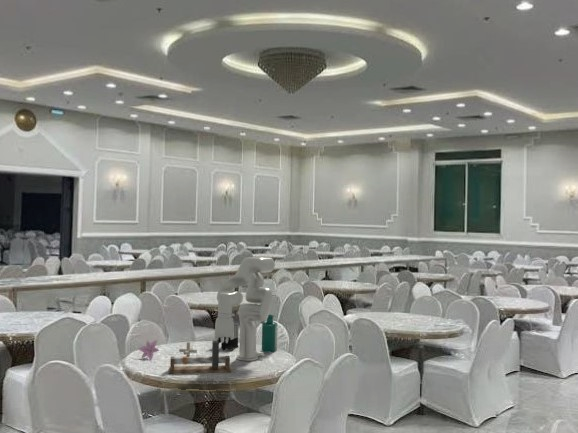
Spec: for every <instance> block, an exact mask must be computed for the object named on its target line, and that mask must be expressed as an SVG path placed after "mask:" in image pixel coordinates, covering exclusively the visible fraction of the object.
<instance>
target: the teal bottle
mask: <svg viewBox="0 0 578 433" xmlns="http://www.w3.org/2000/svg"><path fill="white" fill-rule="evenodd" d="M274 317H275V314H269V315H268V318H267V320H266V321H264V322H260V323H261V324H262V325H261V352H264V353H265V352H266V353H267V352H268V353H273V352H276V351H277V349H278V323H277V322H274Z"/></svg>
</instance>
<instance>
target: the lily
mask: <svg viewBox="0 0 578 433" xmlns="http://www.w3.org/2000/svg"><path fill="white" fill-rule="evenodd" d="M157 343H158V339H156V340H153V341H152V342H150V341H149V340H146V343H145V345H143V346H140V347H138V348H137V349H138V350H139V352H141V353H142V355H141V359H144V358H146V357H147V358H148V359H149V360H150V359H153V357H154V353H157V352H160V349H159V348H157V347H156V346H157Z"/></svg>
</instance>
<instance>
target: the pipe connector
mask: <svg viewBox="0 0 578 433" xmlns="http://www.w3.org/2000/svg"><path fill="white" fill-rule="evenodd" d="M190 344H191V342H190V341H186V348H179V353H183V355H185V356H187V357H191V356H190V355H191V354H192V353H193V354H197V352H198V350H197V349H193V347H191V345H190Z"/></svg>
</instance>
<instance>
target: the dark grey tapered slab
mask: <svg viewBox="0 0 578 433" xmlns="http://www.w3.org/2000/svg"><path fill="white" fill-rule="evenodd" d="M211 346H212V347H211V348H212V349H211V351H212V352H211V356H213V363H211V366H212V368H213V369H218V366H220V365H219V364H220V363H219V356H220V354H219V353H220V343H219V342H218V341H217V340H212V344H211Z"/></svg>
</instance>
